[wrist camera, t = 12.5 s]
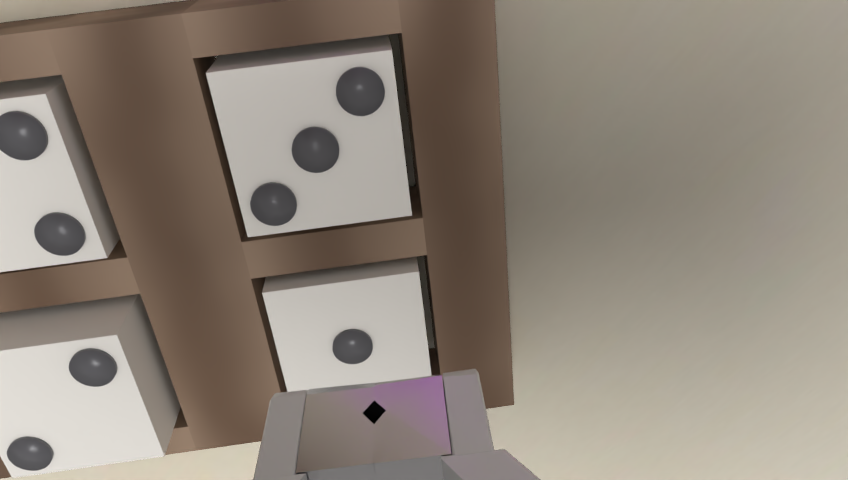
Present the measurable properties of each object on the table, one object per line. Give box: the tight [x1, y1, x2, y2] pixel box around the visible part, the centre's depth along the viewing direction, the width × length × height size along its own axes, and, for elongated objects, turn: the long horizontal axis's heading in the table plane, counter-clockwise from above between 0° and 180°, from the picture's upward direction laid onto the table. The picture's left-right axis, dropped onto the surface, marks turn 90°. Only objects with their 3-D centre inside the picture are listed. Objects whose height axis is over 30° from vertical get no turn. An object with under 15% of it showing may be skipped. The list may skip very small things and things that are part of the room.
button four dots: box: [0, 75, 120, 272], centre depth 24 cm, size 6×6×3 cm
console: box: [0, 0, 514, 479], centre depth 27 cm, size 24×18×3 cm
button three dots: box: [206, 35, 412, 237], centre depth 24 cm, size 6×6×3 cm
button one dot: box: [262, 257, 432, 392], centre depth 28 cm, size 6×6×3 cm
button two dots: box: [0, 294, 181, 478], centre depth 27 cm, size 6×6×3 cm
